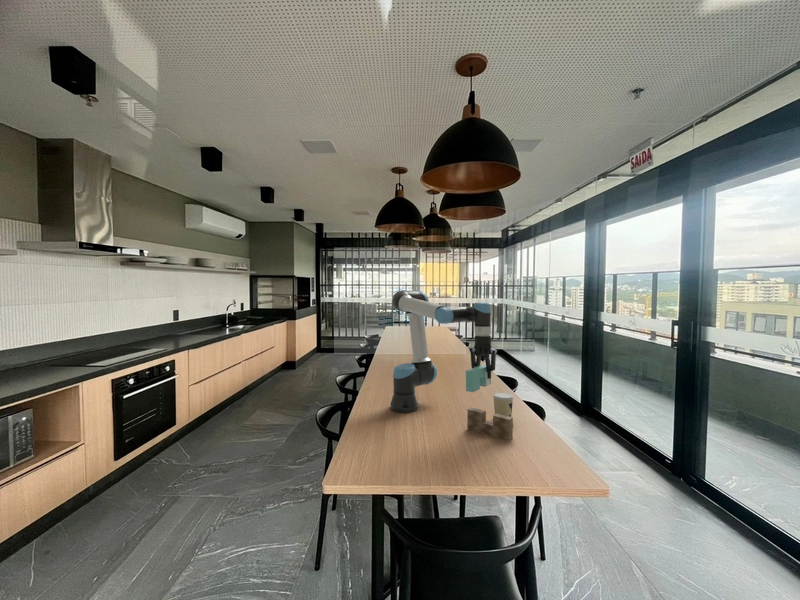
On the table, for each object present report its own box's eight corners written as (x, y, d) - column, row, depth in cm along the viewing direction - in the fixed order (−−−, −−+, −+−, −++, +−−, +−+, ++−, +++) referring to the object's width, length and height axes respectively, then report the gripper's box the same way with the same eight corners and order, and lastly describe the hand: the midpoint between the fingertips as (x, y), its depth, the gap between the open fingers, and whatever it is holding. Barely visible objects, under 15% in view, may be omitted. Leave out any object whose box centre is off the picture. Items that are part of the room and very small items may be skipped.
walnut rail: (467, 428, 158) (467, 409, 157) (471, 426, 160) (471, 407, 160) (509, 440, 145) (509, 419, 145) (512, 437, 148) (512, 417, 147)
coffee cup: (514, 423, 164) (514, 398, 163) (493, 421, 166) (494, 397, 165) (511, 416, 173) (511, 393, 173) (492, 415, 175) (492, 391, 174)
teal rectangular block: (466, 391, 151) (465, 370, 151) (484, 382, 165) (483, 364, 165) (473, 392, 149) (472, 371, 149) (490, 383, 163) (490, 365, 163)
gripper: (463, 334, 163) (463, 383, 163) (496, 337, 152) (496, 389, 152) (470, 333, 168) (471, 380, 169) (502, 335, 158) (503, 385, 158)
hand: (483, 384), depth 160 cm, fingers closed on teal rectangular block, 3 cm apart
